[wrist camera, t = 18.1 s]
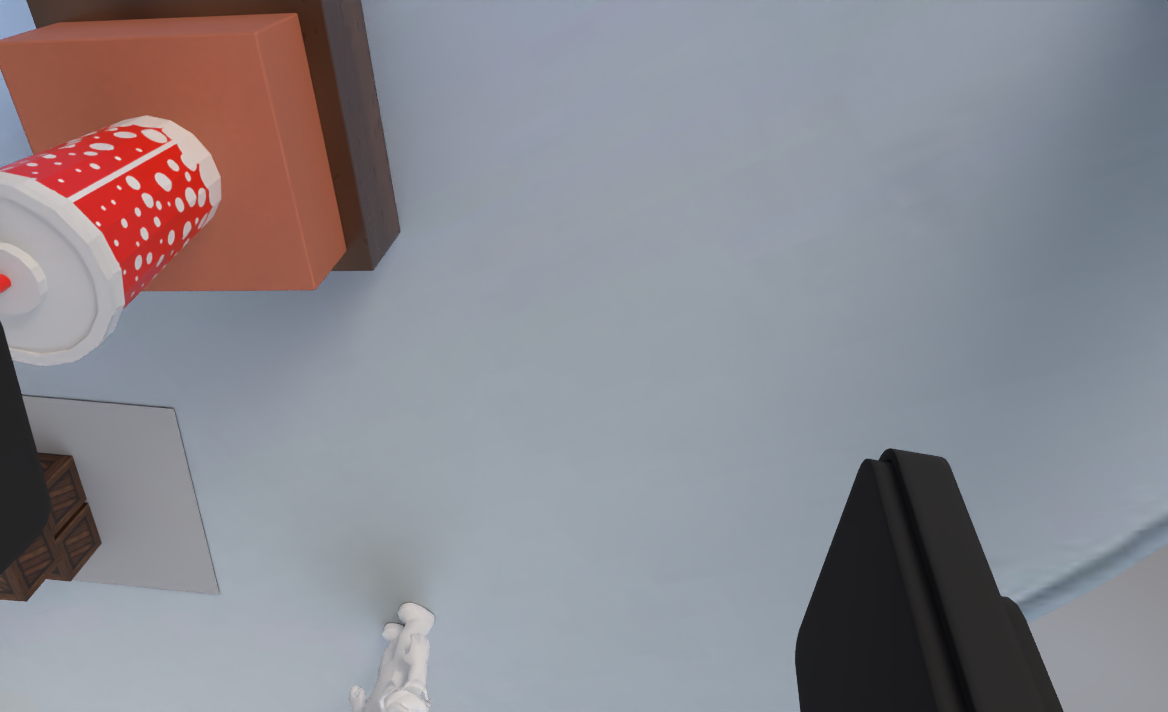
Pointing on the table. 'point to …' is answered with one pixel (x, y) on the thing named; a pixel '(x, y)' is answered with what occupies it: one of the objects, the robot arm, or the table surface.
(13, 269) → the beverage cup
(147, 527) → the stack of crates
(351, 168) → the stack base
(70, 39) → the stack top
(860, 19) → the table surface
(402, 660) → the flower shoulder figurine
